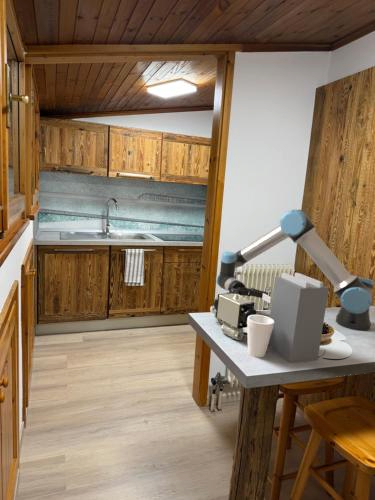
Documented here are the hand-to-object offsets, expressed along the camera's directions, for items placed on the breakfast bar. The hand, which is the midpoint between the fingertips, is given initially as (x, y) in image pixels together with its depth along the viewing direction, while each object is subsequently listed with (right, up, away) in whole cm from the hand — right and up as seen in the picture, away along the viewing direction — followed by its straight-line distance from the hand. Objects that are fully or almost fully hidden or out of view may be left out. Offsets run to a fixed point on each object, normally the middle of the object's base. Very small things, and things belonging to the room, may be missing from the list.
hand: (258, 301), depth 152 cm
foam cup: (-6, -15, -25) cm, 30 cm away
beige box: (-17, -10, +2) cm, 20 cm away
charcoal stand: (+8, -16, -22) cm, 28 cm away
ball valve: (-13, -12, -12) cm, 22 cm away
